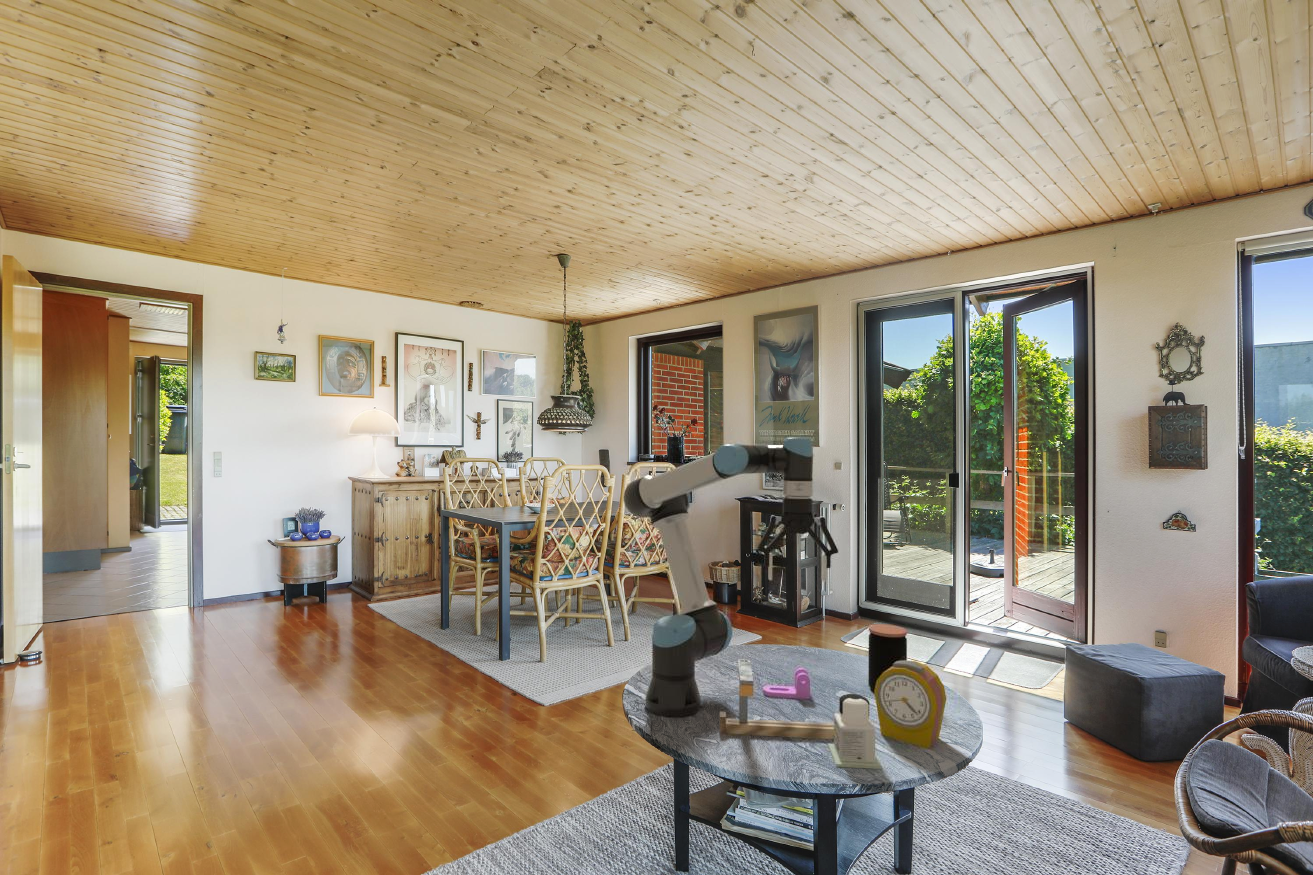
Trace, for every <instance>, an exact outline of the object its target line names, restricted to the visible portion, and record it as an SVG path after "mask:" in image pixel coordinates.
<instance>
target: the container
mask: <svg viewBox="0 0 1313 875" xmlns="http://www.w3.org/2000/svg"><path fill="white" fill-rule="evenodd" d="M838 705H839V708H838V709H839V710H838V711H839V712H838V713H836V712H835V713H834V714H833V718H834V719H833V724H834V739H833V744H834V747H835V749H836V751H837V754H838V756H839V759H840V760H841V761H850V762H868V763H874V762H875V754H876V728H875V726H874V724H873V723H872V720H871V719H870V701H869V699H868V698H866V697H864V696H862V695H860V694H858V693H857V694H856V693H847V694H843V695H841V696H840V697H839V704H838Z"/></svg>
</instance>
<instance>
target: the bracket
mask: <svg viewBox="0 0 1313 875" xmlns="http://www.w3.org/2000/svg"><path fill="white" fill-rule="evenodd" d="M808 673H809V672H808V671H807V670H806V668H805V667H804V668H803V667H799V668H796V670H795V671H794V686H791V685H790V686H787V685H773V684H772V685H771V684H769V685H764V686H763V687H762V694H763V695H765V697H766V696H767V697H771V698H783V699H784V698H786V699H803V700H811V679H810V676H809V674H808Z"/></svg>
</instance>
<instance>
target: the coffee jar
mask: <svg viewBox="0 0 1313 875" xmlns="http://www.w3.org/2000/svg"><path fill="white" fill-rule="evenodd" d="M868 631H869V635H868V672H867V673H868V675H867V676H868V681H867V682H868V687H869V689H870V690H871V691H872V692H873V693H874V690H875V686H876V681H877V680H878V678H879V677H880V676H881V675H882V673H883V672H885V671H886V670H888V669H889V668H891V667H892V666H893V664H894V663H895V662H896V661H901V660H906V661H908V654H907V653H908V639H907V637H906V636H907V634H908V633H907V632H908V630H907V629H905V628H903V627H901V626H898V625H894V624H893V625H892V624H886V623H885V624H884V623H883V624H882V623H881V624H880V623H879V624H878V623H877V624H872V625H869V626H868Z"/></svg>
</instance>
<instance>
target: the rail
mask: <svg viewBox="0 0 1313 875" xmlns="http://www.w3.org/2000/svg"><path fill="white" fill-rule="evenodd" d="M719 734H724V735H725V734H726V735H728V734H729V735H749V736H750V735H751V736H766V737H769V736H770V737H786V738H787V737H788V738H803V739H804V738H805V739H810V738H811V739H823V740H824V739H826V740H827V739H829V740H834V723H828V722H827V723H826V722H810V721H809V722H808V721H807V722H804V721H789V720H788V721H786V720H769V719H768V720H765V719H748V718H747V722H739V718H727V712H726V711H719Z"/></svg>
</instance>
